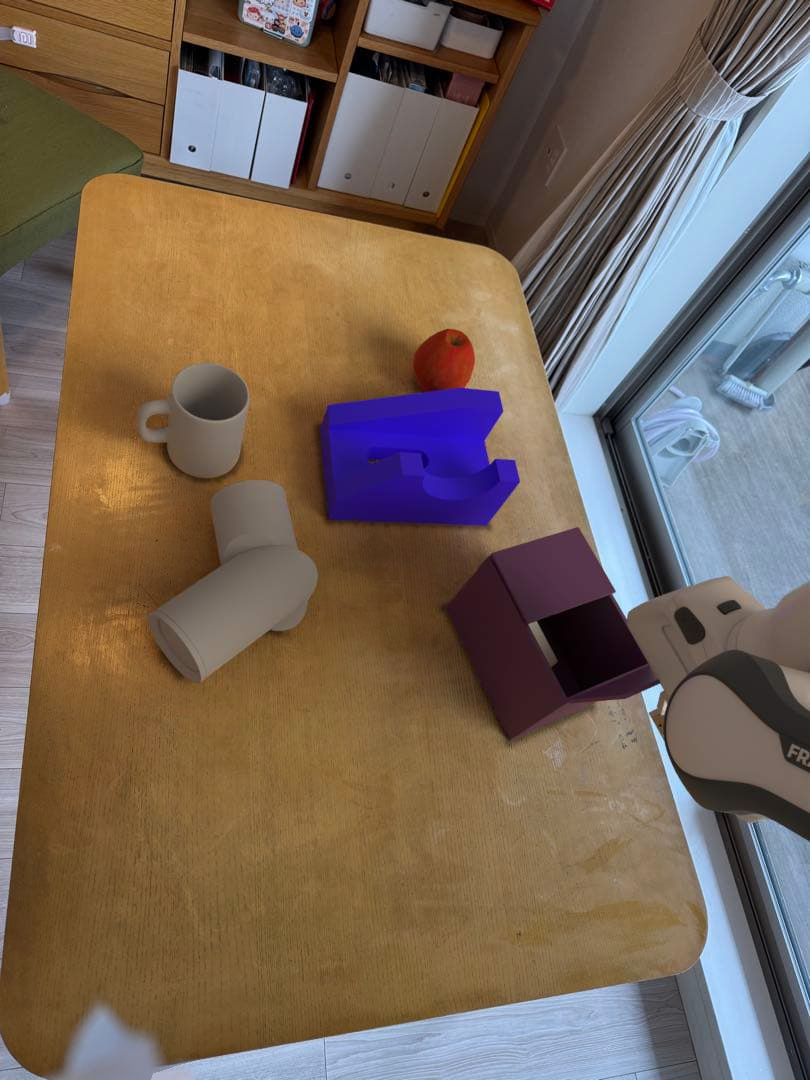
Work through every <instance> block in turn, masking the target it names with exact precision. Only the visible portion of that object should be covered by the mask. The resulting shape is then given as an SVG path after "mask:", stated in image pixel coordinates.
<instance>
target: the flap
mask: <svg viewBox="0 0 810 1080" xmlns="http://www.w3.org/2000/svg"><path fill="white" fill-rule="evenodd" d="M658 685H661V684H660V681H659V679H657V677H656V675H655V674H654V672H653V670H652V668H651V667H650V665H649V666H647V667H644V668H642V669H640V670H637V671H635V672H633V673H630V674H628V675H626V676H623V677H621V678H619V679H616V680H614V681H612V682H609V683H607V684H605V685H602V686H600V687H598V688H595V689H593V690H591V691H588V692H586V693H584V694H581V695H579V696H577V697H574V698H572V699H569V702H570V704H571V703H583V702H595V701H597V702H606V701H607V702H608V701H618V700H627V699H630V698H631V697H633V696H636V695H638V694H640V693H643V692H644V691H647V690H649V689H651V688H654V687H656V686H658ZM595 703H596V702H595Z"/></svg>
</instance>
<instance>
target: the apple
mask: <svg viewBox="0 0 810 1080" xmlns="http://www.w3.org/2000/svg"><path fill="white" fill-rule="evenodd" d="M412 362H413V363H412V367H413V371H414V375H415V378H416V381H417V383H418V385H419V387H420V388H421V390H422V391H423V392H431V391H439V390H447V389H454V388H466V386H467V385H468V383H469V382H470V380H471V378H472V374H473V373H474V372H473V371H474V367H475V363H476V355H475V350H474V346H473V343H472V341H471V340H470V338H469V337H468V336H467V335H466V334H465V333H464V332H463V331H461V330H458V329H455V328H445V329H443V330H440V331H436V333H433V334H432V335H430V336H428V338H427V339H425V340H424V341H423V342H422V343H420V345H419V347H417V349H416V352H415V353H414V355H413V361H412Z"/></svg>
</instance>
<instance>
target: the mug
mask: <svg viewBox="0 0 810 1080" xmlns="http://www.w3.org/2000/svg"><path fill="white" fill-rule="evenodd" d="M250 403H251V394H250V389H249V387H248V385H247V383H246V381H245V380H244V378H243V377H242V376H241V375H240V374H238V372H236V371H235V370H233V369H231V368H229V367H228V366H225V365H223V364H220V363H215V362H199V363H194V364H190V365H187V366H186V367H184V368H182V369H181V370H180V371H179V372H178V373H176V376H175V377H174V378H173V381H172V383H171V386H170V392H169V397H168V398H164V399H155V400H150V401H147V402H145V403H144V404H143V405H141V407H140V408H139V410H138V412H137V416H136V428H137V433H138V435H139V437H140V438H141V439H142V440H143V441H144V442H147V443H153V444H161V443H162V444H163V443H165V444H166V449H167V454H168V457H169V459H170V461H171V462H172V463H173V465H174V466H175V467H176V468H177V469H179V471H181V472H183V473H184V474H185V475H186V474H187V475H188V476H192V477H194V478H199V479H213V478H214V479H215V478H218V477H221V476H223V475H226V474H227V473H229V472H230V471H231V470H233V468H234V467H235V466H236V465H237V463H238V461H239V459H240V455H241V450H242V442H243V438H244V432H245V427H246V422H247V418H248V412H249V408H250ZM155 415H167V416H168V422H167V426H166V427H164V428H158V429H152V428H148V427H147V421H148V419H149V418H150V417H152V416H155Z"/></svg>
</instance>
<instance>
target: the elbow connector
mask: <svg viewBox="0 0 810 1080" xmlns="http://www.w3.org/2000/svg"><path fill="white" fill-rule="evenodd" d="M209 509H210V514H211V519H212V524H213V531H214V536H215V540H216V547H217V552H218V558H219V563H220V564H219V565H220V566H219V567H217V568H216V569H214V570H213V571H211V572H210V573H208V574H207V575H206V576H204V577H202V578H201V579H199V580H198V581H197V582H195V583H193V584H191V585H190V586H189V587H187V588H186V589H185V590H183V591H181V592H180V593H179V594H177V595H175V596H174V597H172V598H171V599H169V600H168V601H167V602H165V603H164V604H162V605H161V606H158V608H156V609H155V610H153V611H152V612H150V613H149V614H148V615H147V617H146V618H147V624H148V628H149V630H150V633H151V635H152V637H153V638H154V641H155V642H156V644H157V646H158V647H159V648H160V650H161V652H162V653H163V654H164V656H165V657H166V658H167V659H168V662H170V663H171V664H172V665H173V667H174V668H175V669H176V670H177V672H179V673H180V674H181V675H182V676H183V677H185V678H186V679H187V680H188V681H190V682H192V683H194V684H200V683H201V682H203V681H204V680H206V679H207V678H208V677H210V676H211V675H212V674H214V673H215V672H216V671H218V670H219V669H220V668H221V667H223V666H224V665H225V664H227V663H228V662H230V661H231V660H232V659H233V658H235V657H236V656H237V655H239V654H240V653H241V652H243V651H244V650H245V649H246V648H248V647H249V646H250V645H252V644H253V643H254V642H256V641H257V640H258V639H260V638H261V637H262V636H263V635H265V634H266V633H267V632H269V631H274V632H282V631H289V630H291V629H293V628H295V627H297V625H299V624H300V623H301V622H302V620H303V619H304V617H305V615H306V612H307V610H308V609H307V608H308V602H309V599H310V598H311V597H312V595H313V593H314V592H315V590H316V588H317V585H318V580H319V574H318V569H317V566H316V564H315V562H314V560H312V558H311V557H310V556H309V555H307V553H305V552H303V551H301V550H300V549H299V547H298V543H297V540H296V535H295V531H294V525H293V522H292V518H291V517H292V516H291V513H290V508H289V504H288V499H287V495H286V492H285V489H284V488H283V487H282V486H281V485H280V484H278V483H276V482H273V481H271V480H264V479H249V480H243V481H238V482H236V483H232V484H230V485H227V486H225V487H223V488H222V489H220V490H219V491H217V492H216V493H214V495H213V497H212V498H211V499H210V502H209Z"/></svg>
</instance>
